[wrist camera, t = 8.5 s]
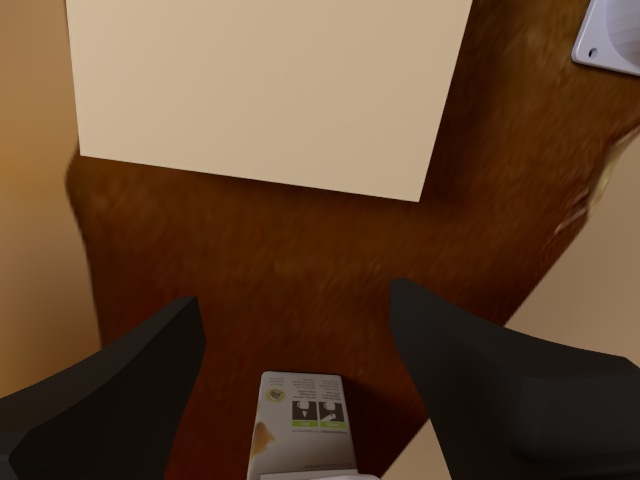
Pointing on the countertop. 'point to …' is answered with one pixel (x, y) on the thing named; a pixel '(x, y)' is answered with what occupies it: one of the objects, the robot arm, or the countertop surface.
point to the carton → (268, 87)
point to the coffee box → (301, 428)
